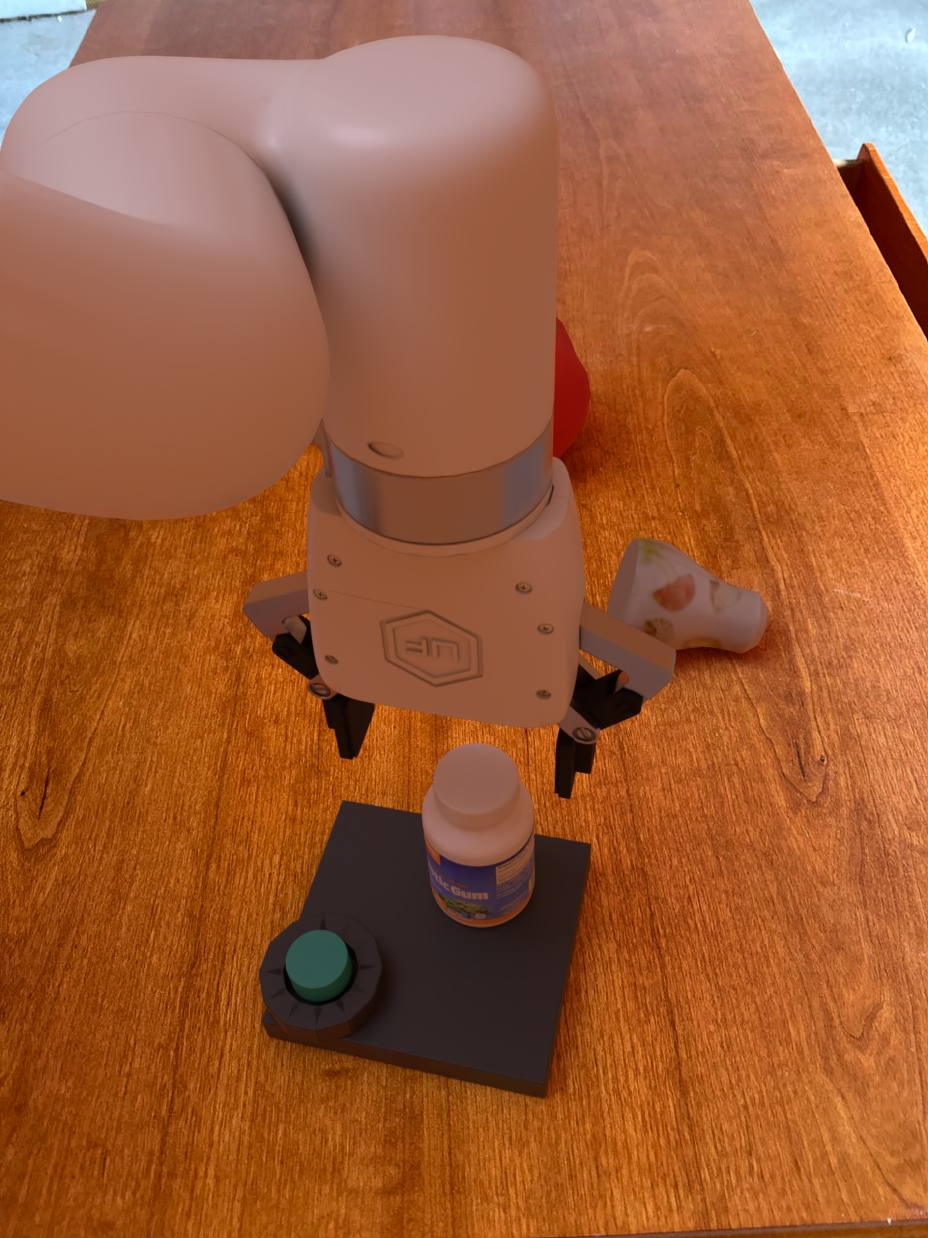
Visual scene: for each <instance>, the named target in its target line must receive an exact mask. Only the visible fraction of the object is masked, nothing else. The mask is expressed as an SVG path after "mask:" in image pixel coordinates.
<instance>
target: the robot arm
mask: <svg viewBox="0 0 928 1238" xmlns="http://www.w3.org/2000/svg"><path fill="white" fill-rule="evenodd" d="M559 122H560V121H559V115H558V111H557V107H556V104H555V102H554V98H553V96H552V93H551V91H550V89H549V85H548V84H547V83H546V81H545V80H544V78H543V77H542V75H541V74H540V73H539V72H538V71H537V70H536V69H535V67H534V66H532V65H531V64H530V63H528V62H527V61H526V60H525V59H523V58H522V57H520V56H519V55H518V54H516V53H514V51H511V50H508V49H506V48H505V47H502V46H500V45H497V44H494V43H490V42H487V41H483V40H479V39H474V38H469V37H460V36H451V35H437V34H420V35H418V34H417V35H416V34H415V35H405V36H403V35H402V36H395V37H389V38H383V39H377V40H374V41H368V42H365V43H362V44H357V45H354V46H351V47H348V48H346V49H343V50H340V51H339V50H338V51H337V52H335V53H332V54H331V55H328V56H326V57H323V58H316V59H315V58H314V59H313V58H312V59H309V58H308V59H261V58H260V59H258V58H257V59H255V58H221V57H201V56H200V57H199V56H198V57H197V56H177V55H176V56H175V55H174V56H172V55H170V56H169V55H128V56H116V57H115V56H114V57H105V58H100V59H95V60H91V61H88V62H83V63H80V64H76V65H74V66H71V67H69V68H68V67H67V68H65V69H63V70H61V71H60V72H58V73H56V74H55V75H53V76H51V77H50V78H48V79H46V80H45V81H43V82H41V83H40V84H39V85H37V86H36V87H35V88H34V89H33V90H32V91H30V92H29V94H27V96H26V97H25V99H24V100H23V101H21V103H20V105H19V106H18V108H17V109H16V111H14V114H13V115H12V117H11V119H10V120H9V122H8V124H7V126H6V129H5V131H4V135H3V138H2V141H1V144H0V145H1V146H0V500H1V501H7V502H10V503H15V504H20V505H25V506H30V507H35V508H39V509H44V510H50V511H55V512H59V513H64V514H65V513H66V514H74V515H81V516H88V517H95V518H103V519H120V520H128V521H129V520H131V521H159V520H179V519H188V518H192V517H193V518H194V517H197V516H203V515H208V514H214V513H217V512H221V511H224V510H226V509H229V508H231V507H235V506H237V505H240V504H243V503H245V502H247V501H249V500H251V499H252V498H254V497H255V496H257V495H259V494H261V493H262V492H264V491H265V490H267V489H268V488H271V487H272V486H273V485H275V484H277V483H278V481H280V480H281V479H282V478H283V477H284V476H285V475H286V474H287V473H289V472H290V470H292V469H293V468H294V467H295V466H296V464H297V463H298V461H299V460H300V458H301V457H302V456H303V454H304V453H305V451H306V450H307V449H308V448H309V446H315V447H316V448H317V449H318V450H319V452H320V453H321V456H322V463H323V464H322V466H321V467H320V469H319V470H318V472H317V473H316V474H315V476H314V478H313V480H312V482H311V486H310V493H309V500H308V508H307V509H308V510H307V523H306V524H307V528H306V570H301V571H298V572H294V573H290V574H287V575H282V576H279V577H275V578H271V579H268V580H263V581H260V582H256V583H255V584H253V586H252V588H251V590H250V592H249V594H248V596H247V598H246V600H245V602H244V604H243V606H242V612H243V614H244V615H245V616H246V617H247V619H249V622H251V623H252V624H253V625H254V627H255V628H256V629H257V630H258V631H259V632H260V634H262V636H263V637H264V638H265V639H269V640H270V641H271V642H272V644H271V651H272V652H273V654H274V655H275V656H276V657H277V658H279V659H280V660H282V661H283V662H285V663H286V664H287V665H288V666H289V667H291V668H292V669H294V670H295V671H296V672H298V673H299V674H301V676H303V677H305V678H306V679H307V680H308V681H307V683H306V689H307V691H308V693H309V694H310V695H311V696H313V697H315V698H316V699H320V700H321V701H322V706H323V711H324V715H325V721H326V725H327V728H328V729H329V730H333V731H334V736H335V740H336V745H337V746H336V747H337V750H338V755H339V758H340V759H344V760H350V761H352V760H353V759H354V758H358V756H359V754H360V752H361V748H362V746H363V744H364V740H365V739H366V736H367V734H368V730H369V727H370V725H371V723H372V720H373V716H374V714H375V710H376V705H381V706H384V707H390V708H397V709H402V710H406V711H407V710H408V711H412V712H419V713H424V714H430V715H436V716H443V717H448V718H454V719H459V720H466V721H471V722H472V721H474V722H478V723H484V724H491V725H499V726H504V727H510V728H511V727H513V728H521V729H537V728H538V729H539V728H546V727H547V728H548V727H550V726H554V725H556V726H557V727H558V728H559V729H558V733H557V737H556V742H555V754H554V756H555V760H554V783H553V784H554V786H553V787H554V788H553V789H554V790H553V793H554V794H555V795H558V796H557V798H560V799H565V800H571V799H572V794H573V790H574V785H575V780H576V775H577V773H580V774H586V775H591V774H592V771H593V766H594V761H595V756H596V749H597V742H598V741H599V738H600V733H601V731H603V730H605V729H608V728H610V727H612V726H615V725H617V724H619V723H622V722H624V721H627V720H628V719H629V720H630V719H632V718H634V717H636V716H638V715H639V714H640V713H641V712H642V707H643V705H644V704H645V703H647V701H651V700H652V699H653V698H654V697H655V696H656V695H658V694H659V693H660V692H661V691H662V690H663V689H664V688H665V687H667V686H668V685H669V684H670V683H671V682H672V681H673V678H674V671H675V666H676V665H675V664H676V658H677V650H674V648H672V647H671V646H669V645H668V644H666V643H664V642H662V641H660V640H658V639H656V638H654V637H652V636H650V635H648V634H646V633H644V632H642V631H640V630H639V629H637V628H635V627H633V626H631V625H629V624H627V623H625V622H623V621H621V620H619V619H617V618H615V617H613V616H612V615H610V614H608V613H607V611H604V610H602V609H601V608H598V607H596V606H594V605H592V604H590V603H588V602H587V589H586V588H587V587H586V573H585V558H584V547H583V537H582V529H581V522H580V516H579V511H578V507H577V506H578V505H577V501H576V497H575V492H574V489H573V485H572V481H571V478H570V474H569V471H568V468H567V466H566V465H565V463H564V462H563V461H562V460H561V459H560V458H556V457H553V416H554V382H555V340H556V317H557V298H558V297H557V295H558V293H557V292H558V291H557V290H558V285H557V284H558V253H559V251H558V249H559V247H558V246H559V210H560V209H559V205H560V204H559V202H560V165H561V163H560V162H561V161H560V160H561V158H560V157H561V156H560V155H561V153H560V152H561V151H560V123H559ZM307 614H309V618H307V617H306V616H304V615H307ZM580 651H582V652H584V653H586V654H588V655H589V656H591V657H593V658H595V659H597V660H599V661H601V662H603V663H605V664H608V665H609V666H611V667H613V668H615V670H613V671H611V672H609V673H607V674H605V675H603V674H602V673H601V672H600V671H599V670H597V668H596V667H594V666H593V665H592V664H591V662H590V661H588V659H586V657H584V656H583V654H581V653H580Z"/></svg>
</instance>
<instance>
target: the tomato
mask: <svg viewBox="0 0 928 1238" xmlns="http://www.w3.org/2000/svg"><path fill="white" fill-rule="evenodd" d="M591 393H592V392H591V387H590V380H589V373H588V371H587V370H586V368H585V367H584V365H583V363H582V362H581V360H580V359H579V357H578V355H577V353H576V350H575V347H574V344H573V342H572V340H571V338H570V335H569V333H568V331H567V329H566V327H565V325H564V323H563V321H561V320H560V319H559V317H557V316H556V340H555V382H554V416H553V457H556V458H558V459H560V458H561V457H562V456H563V455H564V454H565V453H566V451H568V450H569V448H570V447H571V446H573V444H574V443H575V440H576V439H577V438H578V436H579V434H580V433H581V432H582V429H583V426H584V424H585V420H586V417H587V415H588V410H589V406H590V402H591V401H590V400H591V396H592V394H591Z"/></svg>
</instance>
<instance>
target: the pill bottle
mask: <svg viewBox="0 0 928 1238" xmlns="http://www.w3.org/2000/svg"><path fill="white" fill-rule="evenodd" d="M534 809H535V808H534V803H533V799H532V796H531V794H530V792H529V790H528V788H527V786H526V785H525V783H524V782H523V781H522V780H521V779H520V775H519V771H518V768H517V765H516V763H515V761H514V760H513V759H512V757H511V756H510V755H509V754H508V753H507V752H506V751H504V750H503V749H501V748H499V747H498V746H495V745H493V744H489V743H483V742H470V743H464V744H461V745H458V746H456V747H453V748H452V749H451V750H449V751H447V752H446V753H445V754H444V755H442V757H441V758H440V760H438V762H437V764H436V766H435V768H434V770H433V774H432V784H431V785H430V787H429V788H428V790H427V791H426V794H425V796H424V798H423V803H422V808H421V814H422V822H423V830H424V837H425V844H426V851H427V858H428V865H429V873H430V881H431V886H432V891H433V894H434V897H435V899H436V901H437V903H438V905H439V906H440V908H441V909H442V910H443V911H444V912H445V913H446V914H447V915H448V916H449V917H451V918H452V919H453V920H455V921H457V922H459V923H461V924H464V925H467V926H472V927H492V926H496V925H499V924H502V923H504V922H507V921H508V920H510V919H512V918H513V917H515V916H516V915H517V914H519V913H520V912H521V911H522V910H523V908H524V907H525V906H526V904H527V903H528V901H529V899H530V897H531V894H532V891H533V888H534V882H535V863H534V834H535V810H534Z"/></svg>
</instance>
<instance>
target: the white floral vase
mask: <svg viewBox="0 0 928 1238" xmlns="http://www.w3.org/2000/svg"><path fill="white" fill-rule="evenodd" d="M611 587H612V588H611V591H610V595H609V598H608V602H607V609H606V613H608V614H610V615H612V616H613V617H615V618H617V619H619V620H621V621H623V622H625V623H627V624H629V625H631V626H633V627H635V628H637V629H639V630H640V631H642V632H644V633H646V634H648V635H650V636H652V637H654V638H656V639H658V640H660V641H662V642H664V643H666V644H668V645H669V646H671V647H672V648H674V650H675V651H679V650H685V649H695V648H702V647H703V648H713V649H718V650H719V649H720V650H725V651H729V652H734V653H737V654H744V653H746V652H747V651H749V650H752V649H753V648H755V647H756V646H758V644H759V643H760V642H761V640H762V639H763V638H762V637H763V636H764V635H765V631H766V628H767V625H768V620H769V619H768V618H769V608H768V606H767V604H766V603H767V602H765V600H764V599H763V598H762V596H761V594H760V593H759V592H757V591H755V590H752V589H749V588H745V587H741V586H738V585H735V584H732V583H729V582H727V581H724V580H723V579H721V578H719V577H718V576H716V575H715V574H713V573H712V572H710V571H709V569H707V568H705V567H704V566H703V565H701V564H700V563H698V562H697V561H696V560H694V559H693V558H692V557H690V556H689V555H688V554H687V553H685V552H683V551H682V550H680V548H677V547H676V546H674V545H672V544H670V543H668V542H665V541H663V540H660V539H655V538H649V537H648V538H647V537H646V538H645V537H637V538H633V539H632V540H631V541H630V542H629V544H627V547H626V549H625V551H624V553H623V555H622V558H621V561H620V563H619V565H618V567H617V570H616V574H615V577H614V580H613V584H612V586H611Z"/></svg>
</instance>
